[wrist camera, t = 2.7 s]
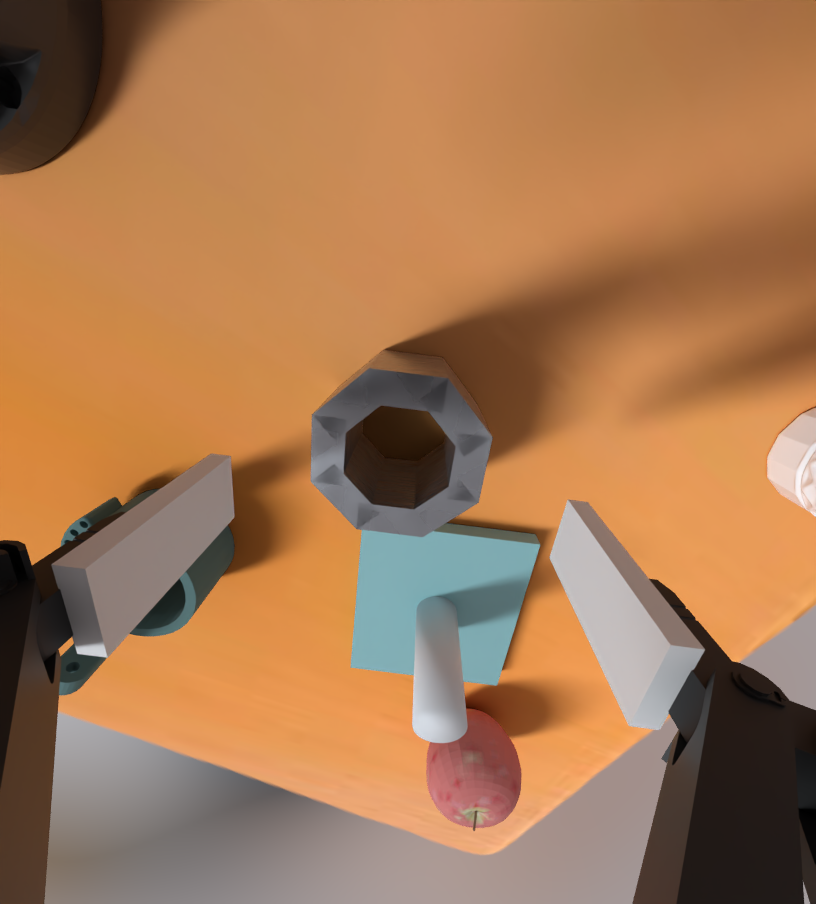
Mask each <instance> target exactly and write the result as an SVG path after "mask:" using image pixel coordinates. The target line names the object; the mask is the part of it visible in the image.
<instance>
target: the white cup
mask: <svg viewBox="0 0 816 904" xmlns="http://www.w3.org/2000/svg"><path fill="white" fill-rule="evenodd" d="M767 478H768V479H769V480H770V482H771V483H772V484H773V486H774V487H775V489H776V490H777V491H778V492H779V493H780V494H781V495H783V496H784V497H786V498H787V499H789V500H791V501H792V502H794V503H796V504H797V505H799V506H800V507H802V508H804V509H805V510H807V511H809V512H810V513H812V514H813V515H814V516H815V517H816V407H815V408H813V409H811V410H809V411H807V412H805V413H802V414H801V415H799V416H798V417H797V418H796V419H795V420H794V421H793V422H792V423H791V424H790V425H788V426H787V427H786V428H785V429H784V430H783V431H782V432H781V433H780V434H779V435H778V437H777V439H776V441H775V443H774V444H773V446H772V448H771V450H770V452H769V454H768V456H767Z"/></svg>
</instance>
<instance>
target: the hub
mask: <svg viewBox="0 0 816 904" xmlns="http://www.w3.org/2000/svg"><path fill="white" fill-rule="evenodd" d="M381 405H382V406H390V407H398V408H406V409H414V410H422V411H428V412H429V413H430V414H431V416H432V417H433V418H434V419H435V421H436V422H437V423H438V425H439V426H440V427H441V428H442V430H443V431H444V432H445V437H444V443H442V444H441V445H439V446H438V447H437V448H435V449H434V450H432V451H431V452H429V453H428V454H427V455H425V456H424V457H422V458H421V459H419V460H418V461H410V460H402V459H394V458H386V457H384V456H383V455H382V454H381V453H380V452H379V451H378V450H377V448H376V447H375V446H374V445H373V444H372V443H371V442H370V440H369V439H368V438H367V437H366V436H365V435H364V434H363V420H364V418H365V417H367V416H368V415H369V414H370V413H372V412H373V411H374V410H376V409H377V408H378V407H379V406H381ZM492 438H493V437H492V435H491V433H490V431H489V428H488V426H487V424H486V422H485V420H484V418H483V416H482V413H481V411H480V409H479V407H478V405H477V403H476V402H475V400H474V399H473V398H472V396H471V395H470V393H469V392H468V391H467V389H466V388H465V387H464V385H463V384H462V383H461V381H460V380H459V379H458V377H457V376H456V375H455V373H454V372H453V370H452V369H451V368H450V366H449V365H448V364H447V362H446V361H445V360H444V358H443V357H437V356H429V355H421V354H413V353H405V352H397V351H390V350H383V351H381V352H380V353H379V354H378V355H377V356H375V357H374V358H373V359H372V360H371V361H369V362H368V363H367V364H366V365H364V366H363V367H362V368H361V369H360V370H358V371H357V372H356V373H355V374H354V375H352V376H351V377H350V378H349V379H348V380H346V381H345V382H344V383H343V384H341V385H340V386H339V387H338V388H337V389H336V390H335V391H334V392H333V393H332V394H331V395H330V396H329V397H328V398H327V400H326V401H325V402H324V403H323V404H322V405H321V406H320V407H319V408H318V409H317V410H316V411H315V412H314V413H313V414H312V442H311V482H312V483H313V484H314V485H315V486H316V488H317V489H318V490H319V491H320V492H321V493H322V494H323V495H324V496H325V497H326V498H327V499H328V500H329V501H330V502H331V503H332V504H333V505H334V506H335V507H336V508H337V509H338V510H339V511H340V512H341V513H342V514H343V515H344V516H345V517H346V518H347V520H348V521H349V522H350V523H351V524H352V525H353V526H354V527H355V528H356V529H360V530H368V531H376V532H384V533H392V534H400V535H408V536H416V537H424V536H426V535H427V534H429V533H431V532H432V531H434V530H435V529H437V528H439V527H440V526H442V525H443V524H445V523H447V522H448V521H450V520H451V519H453V518H455V517H456V516H458V515H459V514H461V513H463V512H464V511H466V510H467V509H469V508H471V507H472V506H474V505H475V504H477V503H479V498H480V493H481V489H482V484H483V479H484V475H485V470H486V466H487V461H488V457H489V452H490V447H491V443H492Z"/></svg>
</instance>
